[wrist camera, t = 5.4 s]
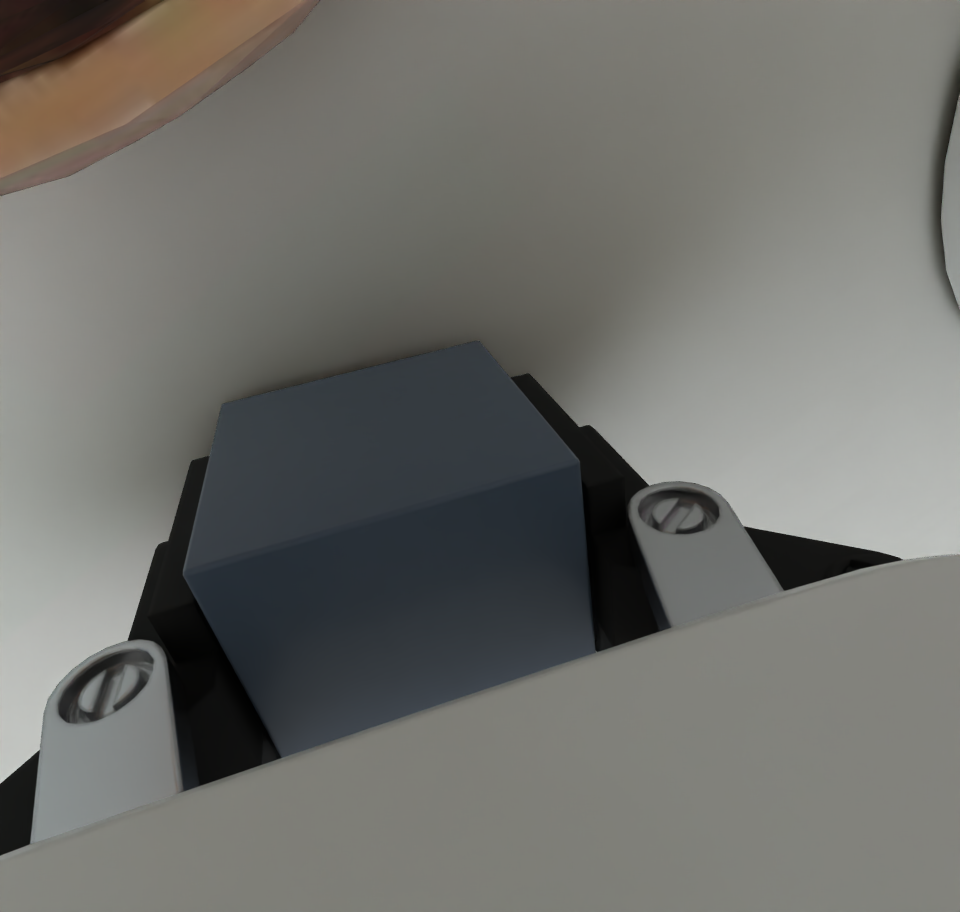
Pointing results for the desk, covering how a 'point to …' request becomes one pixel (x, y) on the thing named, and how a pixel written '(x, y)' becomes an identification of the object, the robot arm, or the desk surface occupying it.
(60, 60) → the potted plant
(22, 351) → the desk surface
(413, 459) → the block
